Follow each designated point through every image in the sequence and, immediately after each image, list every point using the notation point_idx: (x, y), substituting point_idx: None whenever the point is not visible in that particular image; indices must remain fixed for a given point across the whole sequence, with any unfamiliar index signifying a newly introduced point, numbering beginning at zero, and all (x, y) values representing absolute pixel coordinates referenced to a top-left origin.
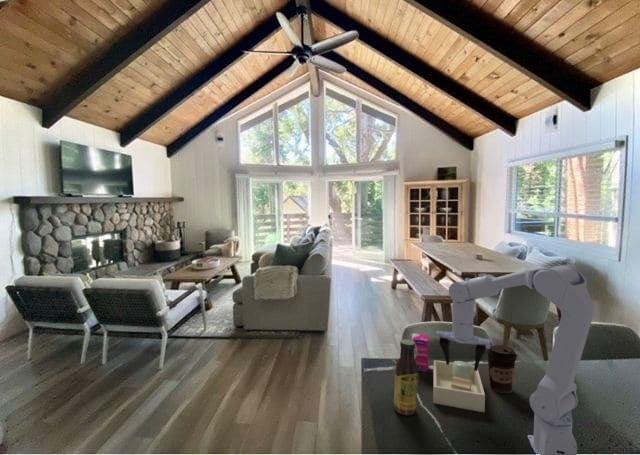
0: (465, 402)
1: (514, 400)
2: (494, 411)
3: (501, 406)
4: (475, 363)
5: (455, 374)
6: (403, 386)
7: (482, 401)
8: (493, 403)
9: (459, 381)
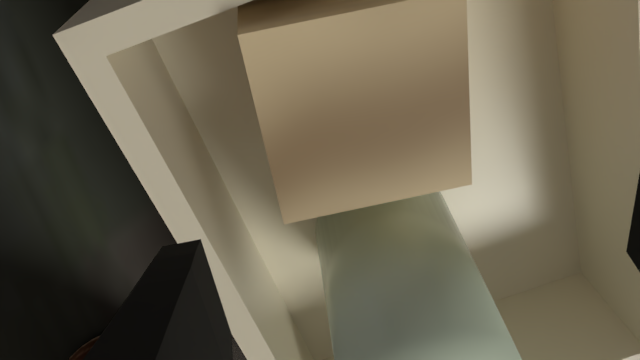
0: None
1: (3, 307)
2: (45, 66)
3: (36, 176)
4: (152, 333)
5: (454, 253)
6: None
7: (96, 3)
8: (102, 177)
9: (389, 121)
